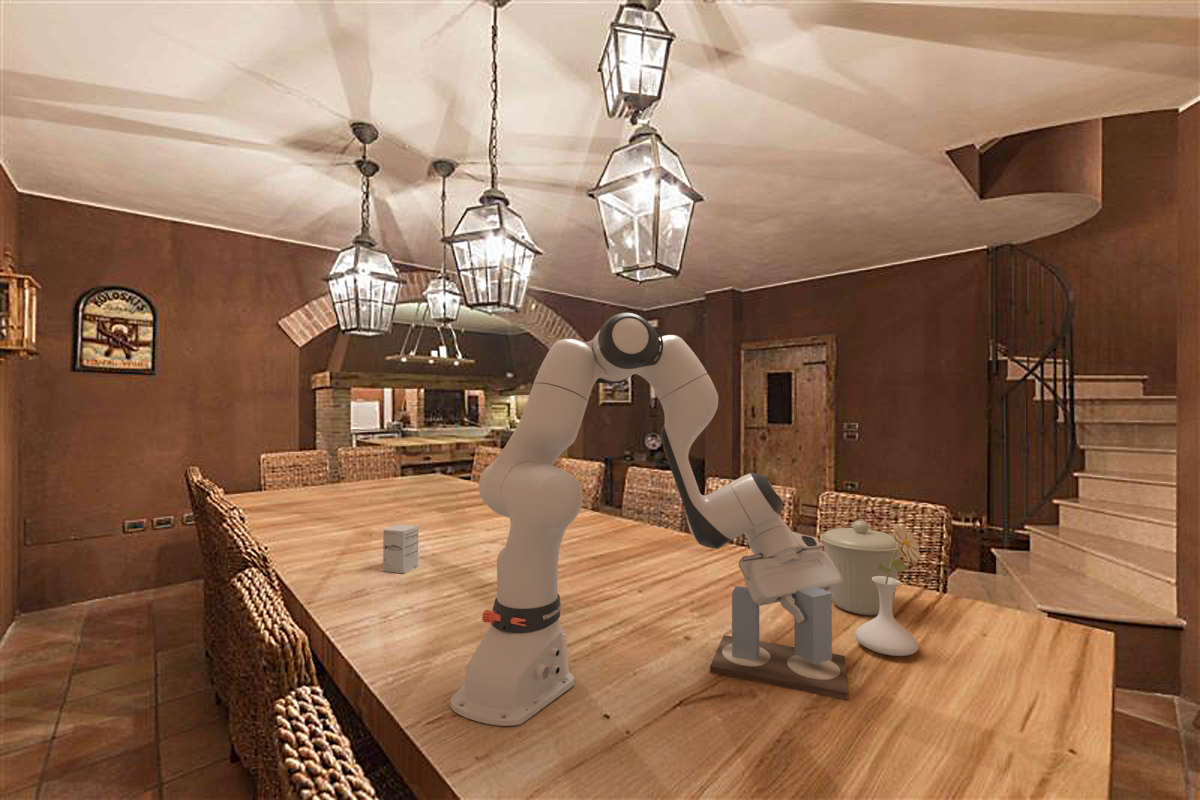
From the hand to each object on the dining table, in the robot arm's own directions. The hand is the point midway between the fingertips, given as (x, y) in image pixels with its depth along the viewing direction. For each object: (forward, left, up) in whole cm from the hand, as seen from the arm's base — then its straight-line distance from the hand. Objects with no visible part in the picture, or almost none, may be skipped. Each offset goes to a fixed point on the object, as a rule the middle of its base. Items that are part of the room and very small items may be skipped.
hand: (815, 618), depth 96 cm
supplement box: (+17, +115, -11) cm, 117 cm away
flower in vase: (+17, -14, -11) cm, 24 cm away
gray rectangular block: (+1, 0, -7) cm, 7 cm away
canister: (+38, -10, -11) cm, 41 cm away
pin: (0, +12, -9) cm, 15 cm away
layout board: (0, +6, -10) cm, 12 cm away
